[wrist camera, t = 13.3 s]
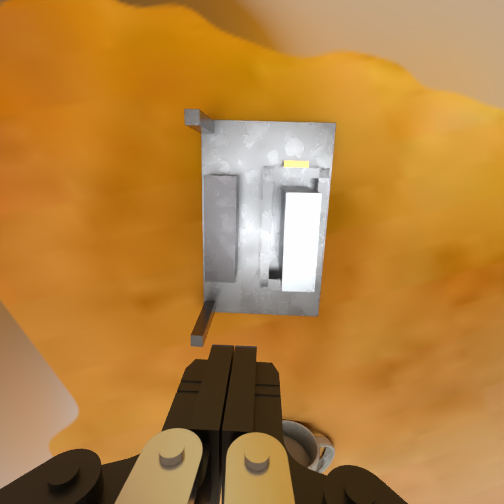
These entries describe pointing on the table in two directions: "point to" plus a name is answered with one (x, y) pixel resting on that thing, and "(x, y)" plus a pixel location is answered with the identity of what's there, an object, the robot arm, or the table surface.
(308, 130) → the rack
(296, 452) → the ceramic mug
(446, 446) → the table surface
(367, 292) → the table surface
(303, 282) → the grey rectangular block
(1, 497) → the robot arm
